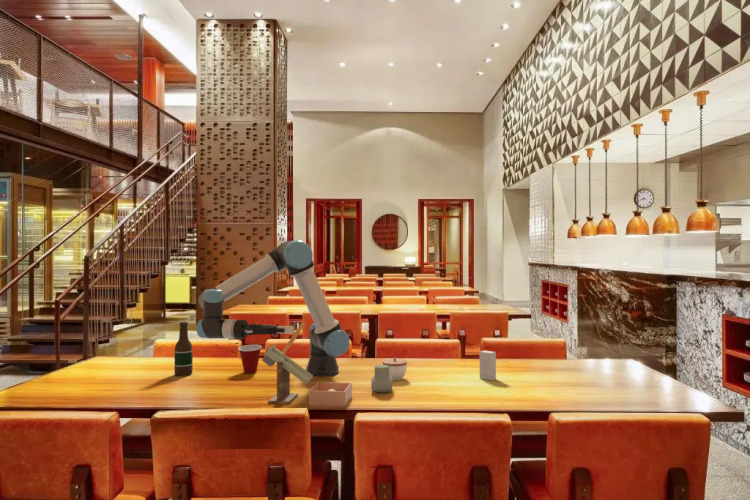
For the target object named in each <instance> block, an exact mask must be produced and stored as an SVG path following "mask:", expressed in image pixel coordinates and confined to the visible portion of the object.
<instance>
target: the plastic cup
mask: <svg viewBox="0 0 750 500" xmlns="http://www.w3.org/2000/svg"><path fill="white" fill-rule="evenodd" d="M262 348H263V347H262V345H261V344H247V345H241V346H240V347H238V351H239V354H240V358H241V359H240V360H241V364H242V367H243V368H242V369H243V372H244V373H245V374H254V373H257V371H258V366H259V361H260V355H261V354H260V353H261V350H262Z"/></svg>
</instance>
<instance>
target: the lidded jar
mask: <svg viewBox="0 0 750 500" xmlns="http://www.w3.org/2000/svg"><path fill="white" fill-rule="evenodd" d="M407 363H408V361H407V360H406V359H401V358H400V359H399V358H397V357H393V358H388V359H384V360H382V365H387V366H389V376H390V377H392V381H401V380H402V378H404V377H405V375H406V372H407Z"/></svg>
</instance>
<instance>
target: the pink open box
mask: <svg viewBox="0 0 750 500" xmlns="http://www.w3.org/2000/svg"><path fill="white" fill-rule="evenodd" d="M329 389H334V390H335V391H328V390H329ZM352 397H353V383H352V382H343V381H342V382H339V381H337V382H335V381H317V382H316V383H315V384H314V385H313V386H312V387H310V389H309V390H308V406H309V407H321V406H327V407H329V408H346V407H347V406H348V404H349V402H350V401H351V399H352ZM327 407H326V408H327Z"/></svg>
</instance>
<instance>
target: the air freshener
mask: <svg viewBox="0 0 750 500" xmlns="http://www.w3.org/2000/svg"><path fill="white" fill-rule="evenodd" d="M370 389H371V391H373V392H375V393H380V394H381V393H389V392H391V391H393V380H392V377H390V376H389V366H387V365H383V364H379V365H378V364H377V365H375V366H374V376H372V377H371V388H370Z"/></svg>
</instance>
